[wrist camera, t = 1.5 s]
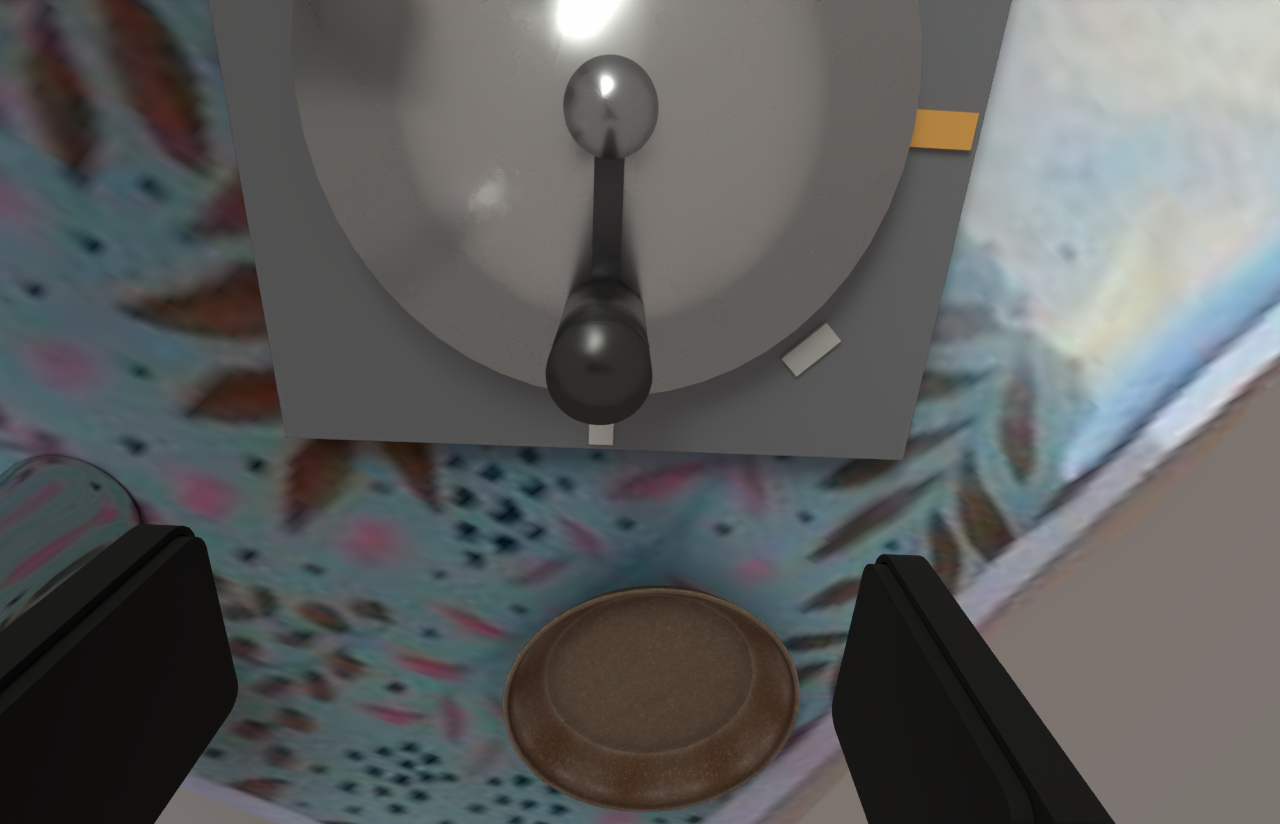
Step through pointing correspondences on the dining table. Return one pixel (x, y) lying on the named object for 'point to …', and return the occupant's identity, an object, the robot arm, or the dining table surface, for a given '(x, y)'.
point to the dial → (608, 172)
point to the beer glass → (54, 526)
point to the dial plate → (526, 414)
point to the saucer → (651, 699)
